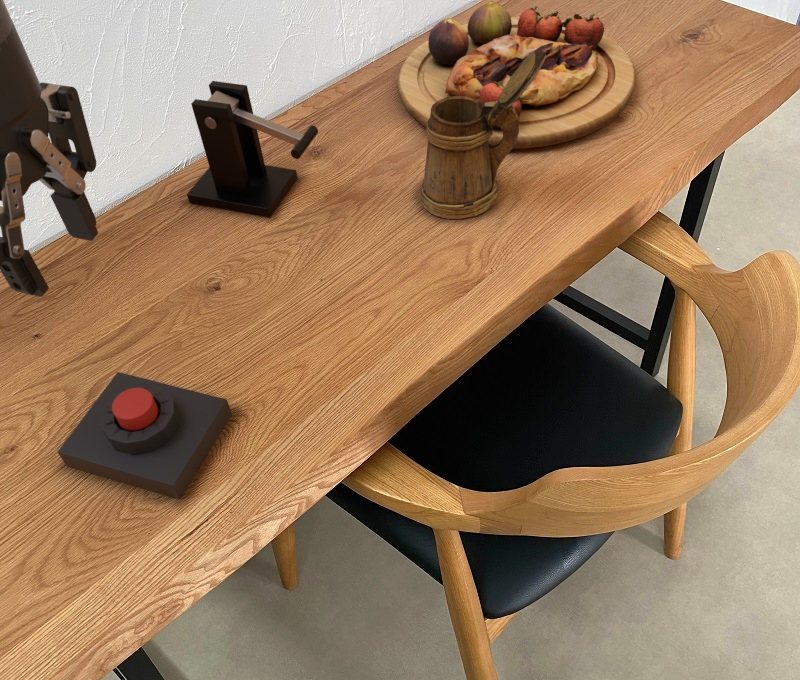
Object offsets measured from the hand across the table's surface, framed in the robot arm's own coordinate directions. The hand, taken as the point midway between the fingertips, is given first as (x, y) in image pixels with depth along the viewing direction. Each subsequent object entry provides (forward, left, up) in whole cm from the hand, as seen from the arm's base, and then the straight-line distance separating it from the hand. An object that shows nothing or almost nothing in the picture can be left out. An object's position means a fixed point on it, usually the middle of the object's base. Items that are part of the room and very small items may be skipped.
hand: (60, 262), depth 58 cm
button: (0, 0, -18) cm, 18 cm away
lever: (-5, +37, -13) cm, 39 cm away
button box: (0, 0, -22) cm, 22 cm away
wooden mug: (+19, +43, -22) cm, 52 cm away
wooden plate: (+17, +68, -22) cm, 73 cm away
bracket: (-9, +37, -22) cm, 44 cm away
